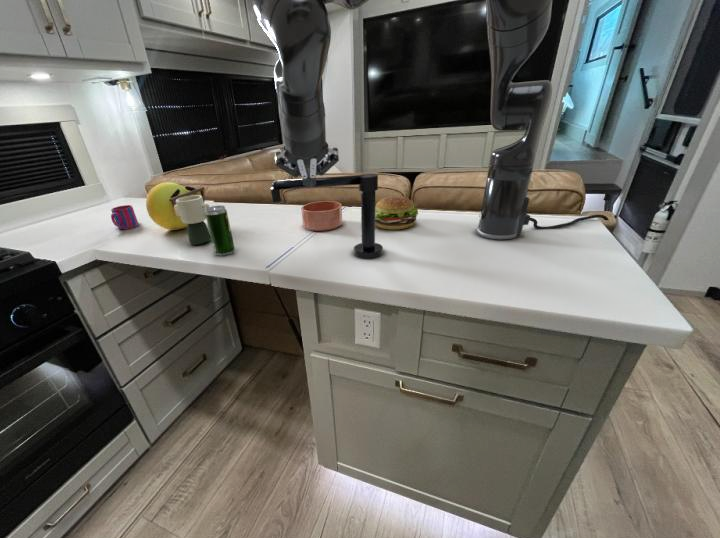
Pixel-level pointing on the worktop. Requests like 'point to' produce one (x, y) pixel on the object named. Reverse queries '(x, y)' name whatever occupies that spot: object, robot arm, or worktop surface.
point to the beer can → (220, 230)
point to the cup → (124, 217)
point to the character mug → (193, 217)
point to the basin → (322, 215)
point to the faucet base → (368, 229)
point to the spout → (327, 184)
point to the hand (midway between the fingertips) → (309, 184)
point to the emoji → (168, 204)
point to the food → (395, 213)
